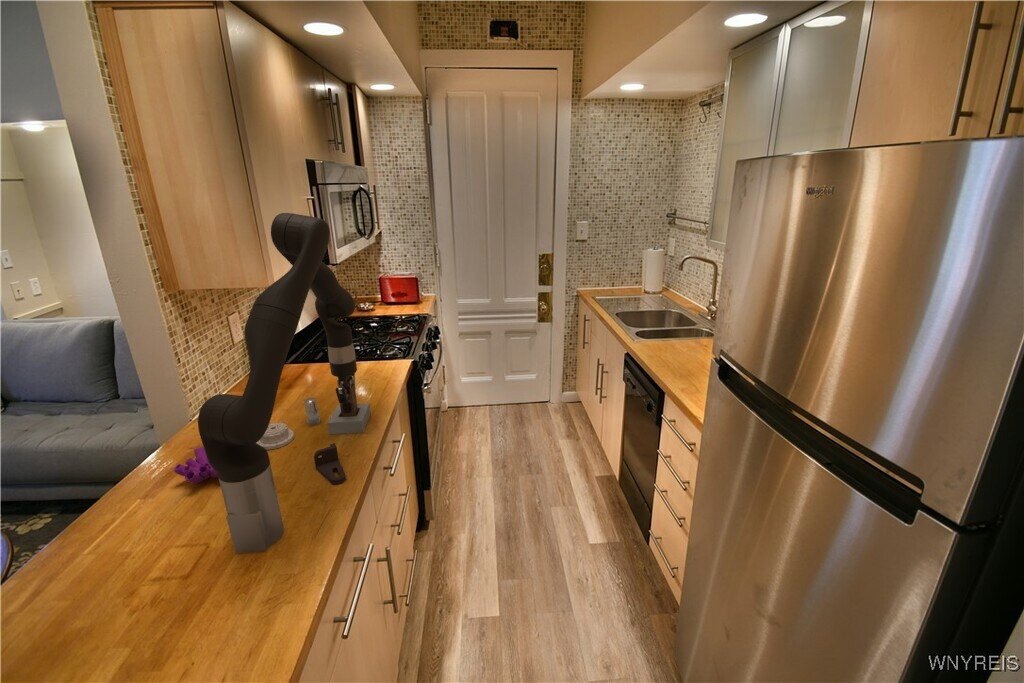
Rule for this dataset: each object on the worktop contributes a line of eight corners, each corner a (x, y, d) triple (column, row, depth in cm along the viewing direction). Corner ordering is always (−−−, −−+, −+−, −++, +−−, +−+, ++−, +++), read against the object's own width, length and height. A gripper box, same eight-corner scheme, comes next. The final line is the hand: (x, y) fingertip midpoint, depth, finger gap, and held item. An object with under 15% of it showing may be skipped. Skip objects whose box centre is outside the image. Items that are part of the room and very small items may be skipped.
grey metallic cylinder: (318, 425, 141) (314, 402, 139) (306, 425, 141) (302, 402, 138) (321, 419, 145) (317, 397, 142) (309, 420, 144) (305, 397, 142)
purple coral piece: (236, 469, 125) (251, 446, 122) (200, 505, 111) (216, 480, 108) (199, 448, 123) (213, 423, 120) (157, 482, 108) (172, 455, 106)
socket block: (363, 432, 137) (361, 421, 136) (329, 434, 136) (327, 422, 135) (370, 413, 148) (369, 403, 147) (339, 415, 147) (338, 404, 146)
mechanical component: (248, 448, 129) (278, 452, 127) (245, 434, 128) (275, 439, 126) (273, 430, 138) (301, 434, 136) (270, 418, 137) (299, 422, 135)
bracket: (323, 490, 111) (320, 473, 110) (314, 465, 121) (312, 449, 120) (347, 482, 114) (345, 465, 113) (337, 458, 124) (334, 443, 123)
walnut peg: (355, 417, 139) (351, 388, 136) (342, 418, 139) (337, 389, 136) (358, 411, 143) (354, 383, 140) (345, 412, 143) (341, 383, 139)
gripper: (349, 366, 128) (356, 419, 134) (360, 349, 142) (366, 398, 147) (322, 367, 128) (330, 420, 133) (335, 350, 141) (342, 399, 147)
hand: (349, 408), depth 140 cm, fingers closed on walnut peg, 4 cm apart
